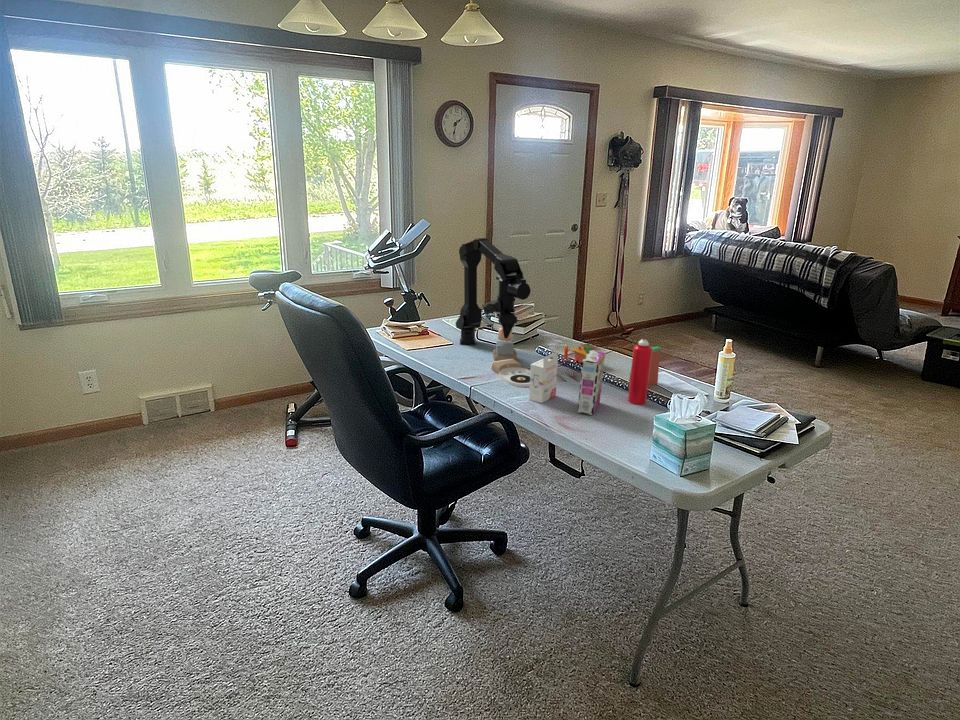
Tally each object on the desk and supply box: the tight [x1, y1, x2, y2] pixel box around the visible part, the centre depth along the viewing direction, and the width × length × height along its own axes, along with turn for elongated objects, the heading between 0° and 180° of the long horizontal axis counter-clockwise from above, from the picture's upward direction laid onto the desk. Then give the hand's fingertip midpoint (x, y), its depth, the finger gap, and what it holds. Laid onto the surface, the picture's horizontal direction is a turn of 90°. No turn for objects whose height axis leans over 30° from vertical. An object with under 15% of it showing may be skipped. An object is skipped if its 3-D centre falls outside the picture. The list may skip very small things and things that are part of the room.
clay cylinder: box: [497, 326, 513, 341], centre depth 209 cm, size 5×5×4 cm
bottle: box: [627, 338, 652, 406], centre depth 175 cm, size 5×6×20 cm
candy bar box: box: [577, 350, 606, 416], centre depth 170 cm, size 11×5×16 cm, turn 159°
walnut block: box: [492, 348, 518, 362], centre depth 212 cm, size 8×8×4 cm
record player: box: [490, 359, 530, 388], centre depth 197 cm, size 12×3×20 cm
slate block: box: [495, 340, 515, 355], centre depth 211 cm, size 6×6×4 cm
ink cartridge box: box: [528, 351, 559, 404], centre depth 177 cm, size 9×5×15 cm, turn 143°
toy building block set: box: [563, 343, 661, 387], centre depth 201 cm, size 12×35×14 cm, turn 35°
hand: (505, 336), depth 209 cm, fingers closed on clay cylinder, 5 cm apart
